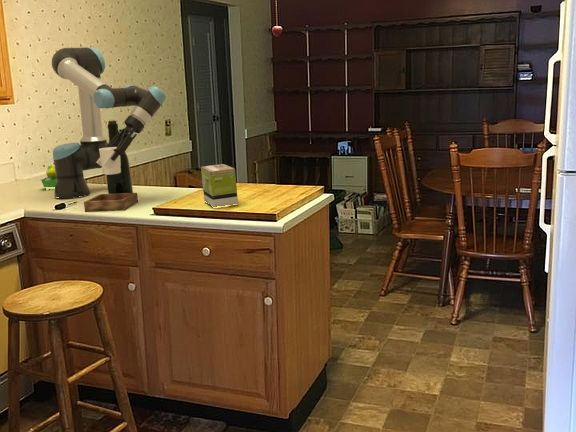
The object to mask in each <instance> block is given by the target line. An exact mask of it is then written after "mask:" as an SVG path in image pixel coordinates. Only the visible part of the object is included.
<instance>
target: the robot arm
mask: <svg viewBox="0 0 576 432" xmlns="http://www.w3.org/2000/svg"><path fill="white" fill-rule="evenodd" d="M51 67H52V69H53V71H54V73H55V74H56V75H57V76H58V77H60V78H61V79H63V80H68V81H70V83H73V84H74V85H75V86H77V89H78V99H79V108H80V109H79V110H80V118H81V129H82V137H81V138H80V139H79V142H80V143H79V142H76V141H75V142H69V143H64V144H63V143H62V144H60V145H57V146H55V147H54V148H53V149H52V159H53V164H54V167H55V172H56V179H57V182H56V187H55V190H54V198H55V197H59V198H71V199H74V198H73V197H79V196H84V195H87V196H89V195H90V194H91V191H90V188H89V185H88V184H87V181H86V179H85V176H84V172H85V171H91V170H96V169H103V168H102V164H101V159H100V153H99V149H100V148H107V147H117V148H116V149H113V150H114V151H115V152H114V151H113V152H112V154H111V155H110V156H109V157H108V159H107V160H106V161H105V163H104V164H103V165H105V166H106V167H107V168H108V169H109V168H110V167H111V166H112V164H113V163H114V162H115V161H116V159H117V158H118V157H119V155H121V154H124V152H126V151H127V149H128V148H129V146H130V145H131V144H132V142H133V141H134V139H135V138H136V137H137V135H138V134H141V133H142V131H143V130H144V129H145V126H146V125H148V123H150V122H151V119H152V118H153V117H154V116H155V114H156V113H157V112H158V110H159V109H160V108H161V107H162V106H163V104H164V102H165V101H166V99H167V95H166V94H165V92H164V91H163V90H162V89H161V88H159V87H157V86H155V85H153V86H151V87H149V88H148V89H145V88H143V87H142V88H141V87H140V86H137V85H132V84H127V85H126V86H125V87H114V88H113V87H111V86H110V85H108V84H107V83H105V82H104V81H102V80H101V75H102V74H103V73H104V72H105V69H106V62H105V59H104V56H103V54H102V52H101V51H100V50H99V49H97V48H95V47H88V46H86V47H62V48H59V49H58V50H57V51H56V52H55V53H54V54H53V55H52V58H51ZM133 106H134V108H133V109H132V110H131V112H130V115H128V116H127V117H126V118H125V120H124V121H123V122H124V125H126V126H125V127H123V128H120V129H118V131H119V132H118V133H117V134H116V136H115V137H114V138H113V139H112V140H111V141H110V143H109V141H108V140H107V137H105V136H104V135H103V125H102V116H101V115H102V114H101V109H111V108H112V109H113V108H123V107H133ZM88 194H89V195H88ZM84 197H85V196H84ZM79 198H80V197H79Z"/></svg>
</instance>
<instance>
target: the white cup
mask: <svg viewBox="0 0 576 432" xmlns="http://www.w3.org/2000/svg"><path fill="white" fill-rule="evenodd" d="M116 148H117V147H107V148H100V149H99V153H100V159H101V164H102V168H101V169H102V174H103V175H111V174H118V173H121V167H120V166H121V162H120V155H119V157H118V158H117V159H116V161H115V162H114V163H113V164H112V166H111V167H110V168H109V169H108V168H107V167H106V166H105V165H103V164H104V163H105V161H106V160H107V159H108V157H109V156H110V155H111V154H112V152H113V151H114V150H113V149H116ZM114 152H115V151H114Z"/></svg>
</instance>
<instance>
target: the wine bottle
mask: <svg viewBox="0 0 576 432" xmlns="http://www.w3.org/2000/svg"><path fill="white" fill-rule="evenodd" d="M107 122H108V123H107V125H106V126H107V127H106V128H107V132H108V143H110V141H111V140H112V139H113V138H114V137H115V136H116V134H117V133H118V132H119V124H118V123H117V120H108V121H107ZM120 162H121V166H120V167H121V173H118V174H111V175H106V185H107V186H106V187H107V194H118V193H134V187H133V182H132V181H133V180H132V173H131V167H130V162H129V157H128V154H127V152H126V151H125V152H124V154H121V155H120Z"/></svg>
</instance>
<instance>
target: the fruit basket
mask: <svg viewBox="0 0 576 432" xmlns="http://www.w3.org/2000/svg"><path fill="white" fill-rule="evenodd" d="M45 174H46V176H47V177H44V178H42V179H40V181H41V183H42V186H43V188H44V187H56V182H57V179H56V172H55V165H54V166H53V165H48V167H47V170H46V173H45Z"/></svg>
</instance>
